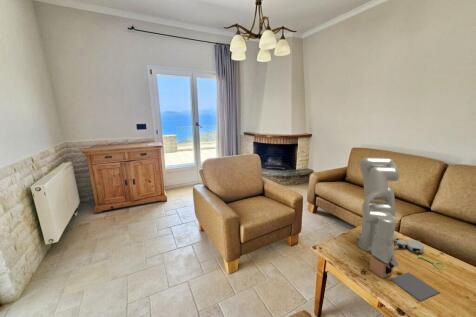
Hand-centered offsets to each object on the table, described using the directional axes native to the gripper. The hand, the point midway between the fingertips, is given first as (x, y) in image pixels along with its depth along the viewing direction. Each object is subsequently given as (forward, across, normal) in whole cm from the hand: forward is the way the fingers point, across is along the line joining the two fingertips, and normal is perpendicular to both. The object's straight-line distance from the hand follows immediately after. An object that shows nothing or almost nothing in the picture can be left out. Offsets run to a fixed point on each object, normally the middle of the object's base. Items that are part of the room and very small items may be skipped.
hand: (380, 267), depth 114 cm
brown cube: (+2, 0, 0) cm, 2 cm away
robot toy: (+3, -9, +36) cm, 37 cm away
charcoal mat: (+2, +13, +6) cm, 15 cm away
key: (+3, +5, +34) cm, 35 cm away
